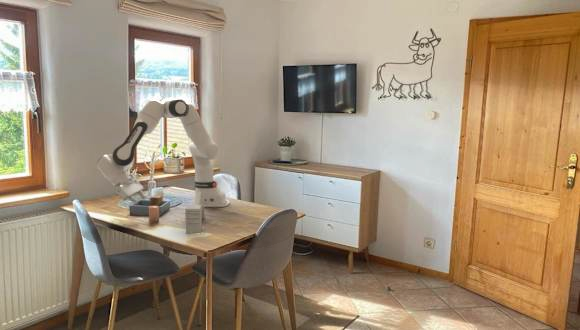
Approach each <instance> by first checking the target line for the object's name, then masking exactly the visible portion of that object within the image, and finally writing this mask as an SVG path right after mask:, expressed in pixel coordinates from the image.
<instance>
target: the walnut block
mask: <svg viewBox="0 0 580 330" xmlns="http://www.w3.org/2000/svg"><path fill="white" fill-rule="evenodd" d="M149 200H150V206H159V207H160V206H162V201H163V195H152V196H150V197H149Z"/></svg>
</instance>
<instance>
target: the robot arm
mask: <svg viewBox="0 0 580 330" xmlns="http://www.w3.org/2000/svg"><path fill="white" fill-rule="evenodd" d="M162 118H163V119H164V118H168V119H174V118H178V119H180V122H181V125H182V127H183V129H184V130H185V133H186V136H187V137H188V138H189V139H190V141H191V143H190V144H189V148H188V150H189V153H190V154H191V156H192V157H191V158H192V160H193V165H194V166H193V167H194V175H195V176H194V186H193V188H194V197H193V201H192V205H195V204H201V205H203V206H204V208H208V207H209V208H224V207H227V206H229V205H230V204H231V203H230V200H229V199H227V197H226V196H227V195H226V192H224V191H223V190H221V189H220V188H219V187H217V186H218V181H216V180H214V166H213V165H212V162H211V161H212V160H216V159H217V158H218V157H219V155H220V154H221V153H220V152H221V150H220V147H219V145H217V143H216V142H215V141H214V139H213V137H211V135H210V134H209V133H208V130H206V127H205V125H204V123H203V121H202V119H201V117H200V115H199V113H198V111H197V109H196V108H195V106H194V105H193V103H191V102H186V101H185V100H183V99H181V98H178V97H176V98H173V97H169V98H163V99H160V100H158V99H151V100H148V102H146V104H145V105H144V106H143V107H142V109H141V110H140V111H139V114H138V115H137V118H136V119H135V122H134V125H133V127H132V129H131V130H130V133H129V134H128V135H127V137H126V138H125V140H124V141H123V143H121V144H119V145H118V146H116V148H114V150H113V152H112V153H110V154H104V155H102V156H101V157H100V158H99V159H98V160H97V163H96V168H97V170H98V171H99V172H100V173H101V174H102V175H103V176H104V178H106V179H107V180H109V182H110V183H111V184H112V186H113V187H114V189H115V192H116V193H117V195H118V196H119V197H120V198H121V199H122V200H123V201H127V200H129V201H130V202H132V203H135V204H137V203H138V202H139V201H138V200H139V199H137V198H135V197H134V196H136V195H137V194H138V195H139V196H140V200H146V197H147V196H146V195H145V193H144V192H143V190H144V185H143V184H141V182H140V181H139V180H138V179H137V178H136V177H135V176H134V174H131V173H130V174H129V173H126V170H128V169H129V168H131V167H132V166H133V165H134V163H135V150H136V148H137V146H138V145H139V143H140V141H141V140H142V139H143V137H145V136H146V135H149V134H151V133H153V131H154V130H155V129H156V128H157V126H158V124H159V123H160V121H161V119H162Z"/></svg>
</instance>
